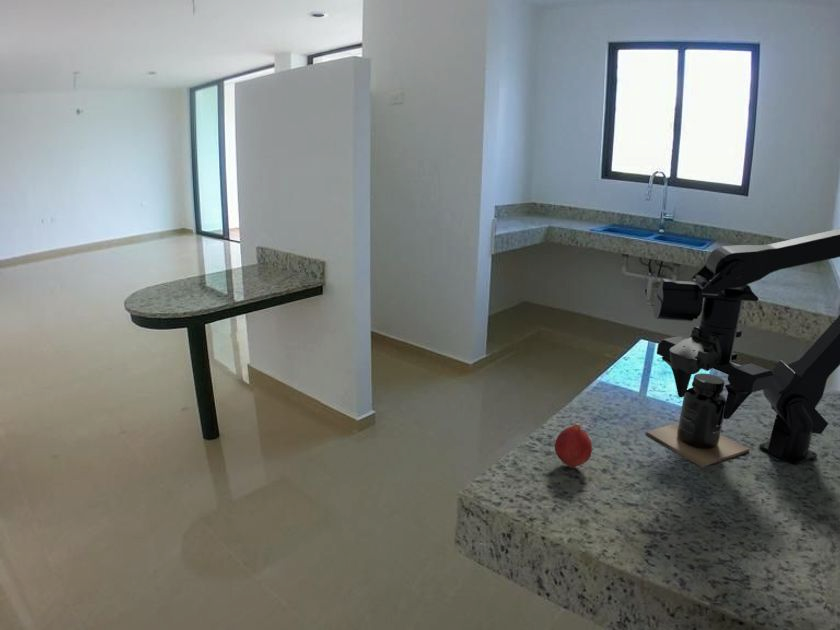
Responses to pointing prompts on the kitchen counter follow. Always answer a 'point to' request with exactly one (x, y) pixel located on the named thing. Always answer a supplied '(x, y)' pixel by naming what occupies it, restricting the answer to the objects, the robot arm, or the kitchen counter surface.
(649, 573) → the kitchen counter surface
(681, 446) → the tan board
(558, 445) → the onion
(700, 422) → the supplement bottle
